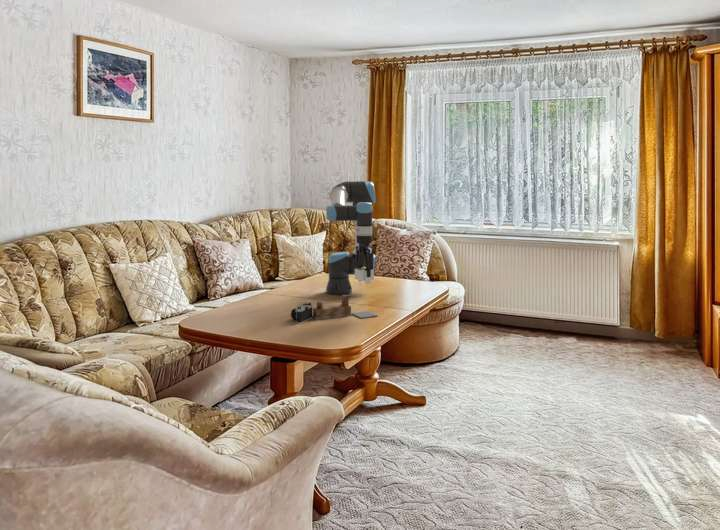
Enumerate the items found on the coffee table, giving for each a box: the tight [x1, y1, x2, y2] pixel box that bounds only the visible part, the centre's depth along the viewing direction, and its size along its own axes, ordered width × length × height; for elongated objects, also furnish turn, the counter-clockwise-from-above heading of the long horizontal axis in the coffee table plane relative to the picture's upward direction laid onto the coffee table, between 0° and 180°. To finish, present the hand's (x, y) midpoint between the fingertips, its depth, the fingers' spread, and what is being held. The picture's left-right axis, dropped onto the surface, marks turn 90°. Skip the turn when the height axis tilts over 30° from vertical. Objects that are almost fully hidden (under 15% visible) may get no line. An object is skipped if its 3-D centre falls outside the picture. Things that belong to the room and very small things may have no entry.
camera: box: [290, 302, 313, 324], centre depth 272 cm, size 13×8×9 cm, turn 159°
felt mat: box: [351, 310, 378, 320], centre depth 280 cm, size 10×9×1 cm
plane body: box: [312, 294, 353, 320], centre depth 278 cm, size 19×5×10 cm, turn 117°
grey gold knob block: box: [354, 267, 375, 282], centre depth 277 cm, size 6×7×6 cm
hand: (364, 282), depth 278 cm, fingers closed on grey gold knob block, 6 cm apart
